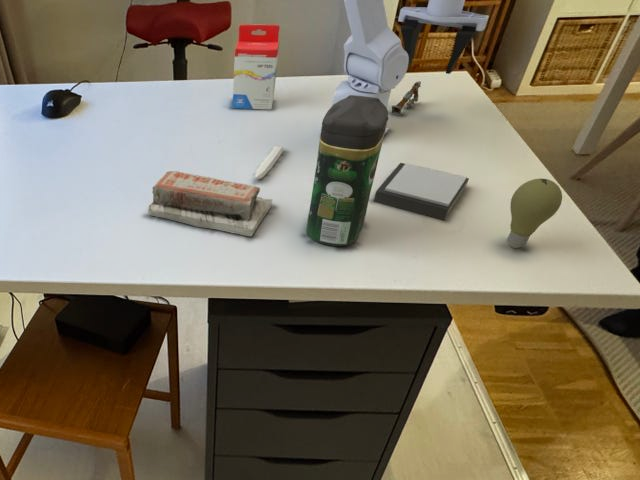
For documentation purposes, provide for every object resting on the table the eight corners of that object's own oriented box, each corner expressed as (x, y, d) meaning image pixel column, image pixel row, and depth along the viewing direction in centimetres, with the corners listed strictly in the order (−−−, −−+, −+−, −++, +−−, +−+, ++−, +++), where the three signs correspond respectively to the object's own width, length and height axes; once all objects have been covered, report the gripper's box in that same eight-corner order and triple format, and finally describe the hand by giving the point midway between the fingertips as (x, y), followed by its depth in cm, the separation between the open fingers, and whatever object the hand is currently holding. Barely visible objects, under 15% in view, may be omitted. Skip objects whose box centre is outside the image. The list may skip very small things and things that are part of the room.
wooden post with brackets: (423, 98, 111) (424, 79, 107) (399, 125, 110) (399, 107, 106) (415, 96, 112) (416, 77, 108) (391, 123, 111) (391, 105, 107)
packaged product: (143, 189, 84) (170, 161, 90) (146, 216, 88) (172, 187, 94) (254, 210, 78) (275, 178, 84) (252, 239, 82) (272, 206, 88)
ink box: (231, 109, 115) (234, 31, 105) (234, 100, 119) (237, 23, 108) (272, 110, 114) (279, 31, 103) (274, 100, 117) (281, 23, 106)
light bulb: (484, 237, 78) (512, 172, 71) (522, 233, 79) (554, 168, 71) (504, 259, 75) (536, 194, 67) (544, 255, 75) (580, 189, 67)
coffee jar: (316, 209, 86) (336, 86, 73) (367, 219, 83) (398, 93, 70) (298, 241, 80) (316, 115, 67) (352, 253, 78) (383, 123, 64)
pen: (250, 184, 93) (251, 175, 92) (277, 149, 101) (277, 140, 100) (259, 186, 92) (259, 177, 91) (285, 150, 101) (286, 142, 100)
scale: (373, 201, 87) (376, 188, 85) (397, 172, 93) (401, 159, 91) (444, 220, 82) (449, 206, 80) (465, 188, 88) (470, 175, 86)
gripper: (504, -20, 91) (475, 67, 101) (416, -27, 97) (397, 56, 107) (492, -10, 87) (463, 80, 97) (402, -17, 94) (384, 67, 103)
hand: (428, 68), depth 102 cm, fingers open, 7 cm apart
